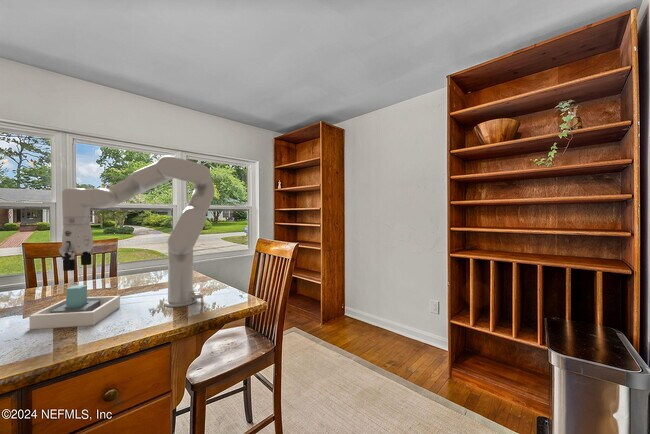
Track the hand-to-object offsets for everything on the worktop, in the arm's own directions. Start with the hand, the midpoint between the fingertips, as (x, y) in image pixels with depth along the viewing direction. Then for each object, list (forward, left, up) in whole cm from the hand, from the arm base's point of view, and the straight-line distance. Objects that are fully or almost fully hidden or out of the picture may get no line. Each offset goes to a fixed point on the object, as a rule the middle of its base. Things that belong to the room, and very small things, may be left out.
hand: (78, 267), depth 101 cm
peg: (0, 0, -17) cm, 17 cm away
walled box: (-2, +2, -18) cm, 18 cm away
